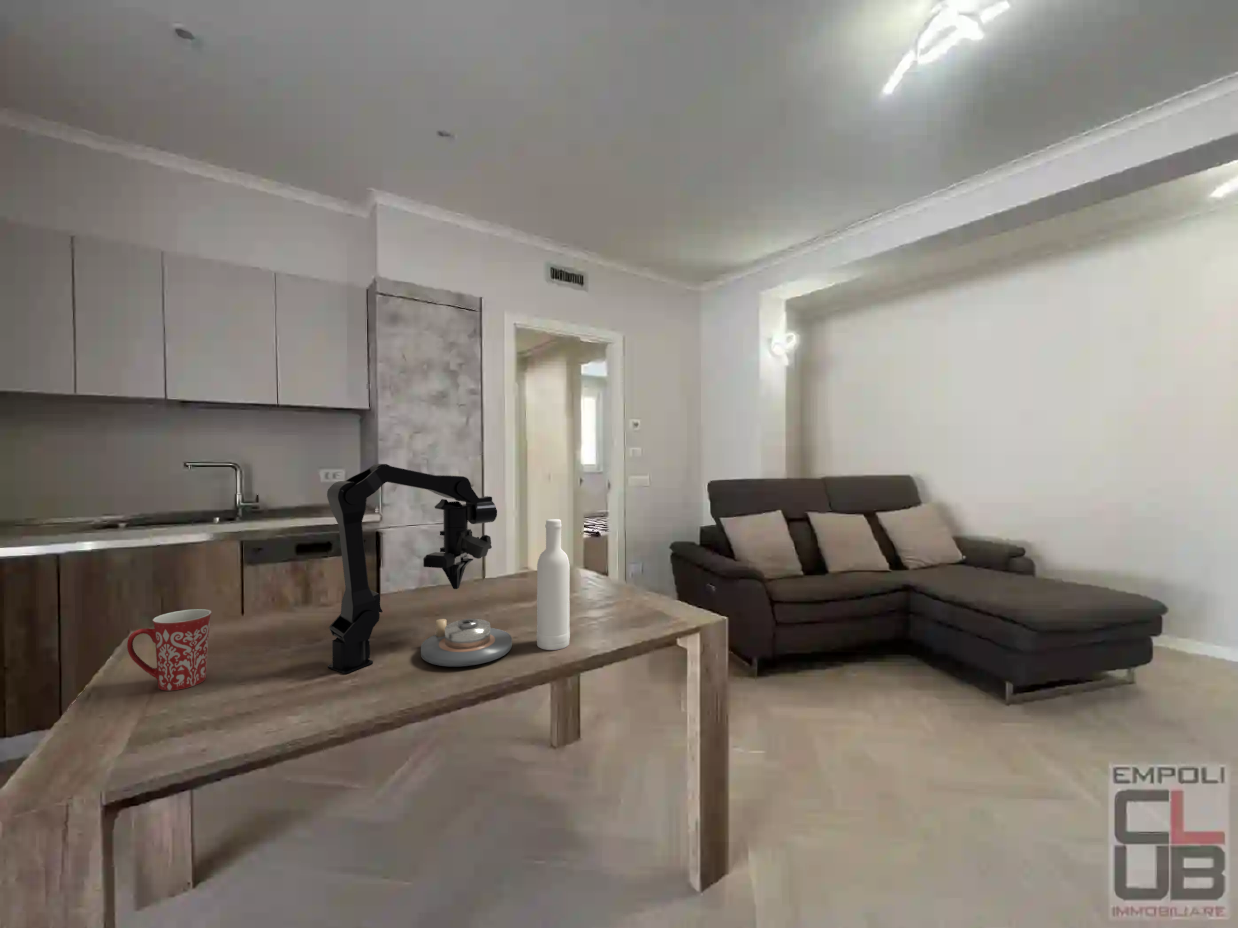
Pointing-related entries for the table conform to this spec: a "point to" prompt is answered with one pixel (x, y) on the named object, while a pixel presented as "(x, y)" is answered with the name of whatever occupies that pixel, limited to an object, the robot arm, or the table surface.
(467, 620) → the cover
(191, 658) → the mug
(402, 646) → the table surface
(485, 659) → the turntable
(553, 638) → the bottle
